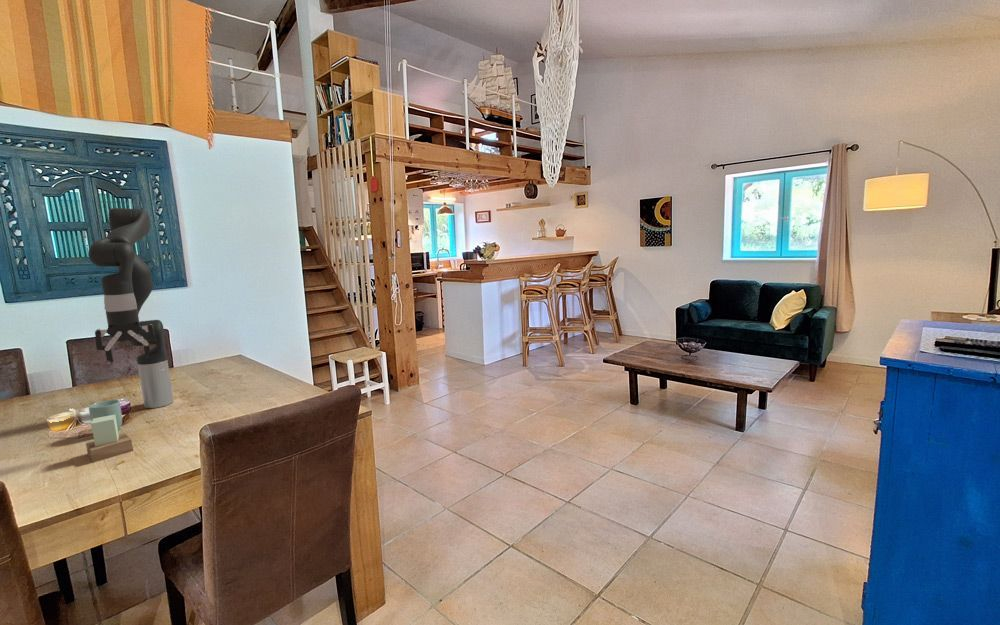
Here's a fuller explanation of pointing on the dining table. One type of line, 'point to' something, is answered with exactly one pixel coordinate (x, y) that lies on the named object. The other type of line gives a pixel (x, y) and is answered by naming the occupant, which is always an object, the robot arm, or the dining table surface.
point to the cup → (106, 410)
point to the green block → (105, 430)
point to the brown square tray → (109, 448)
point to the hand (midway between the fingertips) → (129, 359)
